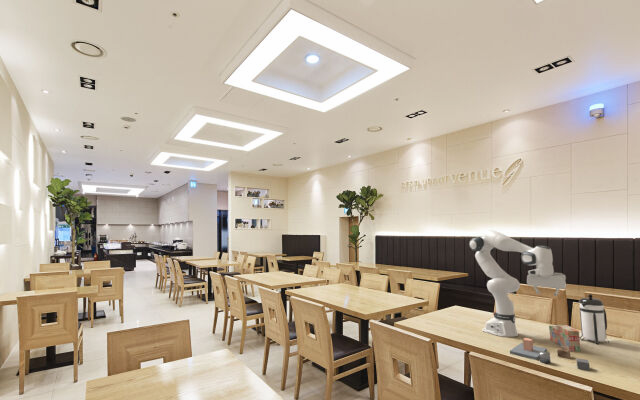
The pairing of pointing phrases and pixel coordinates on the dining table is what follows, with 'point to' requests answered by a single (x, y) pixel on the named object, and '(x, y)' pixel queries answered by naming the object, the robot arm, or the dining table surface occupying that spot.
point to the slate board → (525, 353)
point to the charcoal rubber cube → (583, 364)
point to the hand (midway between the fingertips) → (546, 294)
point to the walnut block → (563, 353)
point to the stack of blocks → (565, 337)
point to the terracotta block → (528, 344)
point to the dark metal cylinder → (544, 357)
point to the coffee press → (593, 319)
